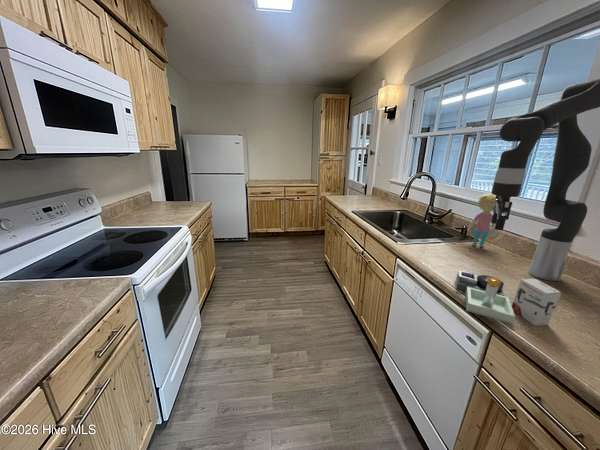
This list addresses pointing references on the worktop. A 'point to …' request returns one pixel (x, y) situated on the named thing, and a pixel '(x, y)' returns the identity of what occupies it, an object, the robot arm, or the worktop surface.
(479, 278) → the tensioner block
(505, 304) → the tray
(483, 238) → the toy
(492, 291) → the pin
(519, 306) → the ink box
